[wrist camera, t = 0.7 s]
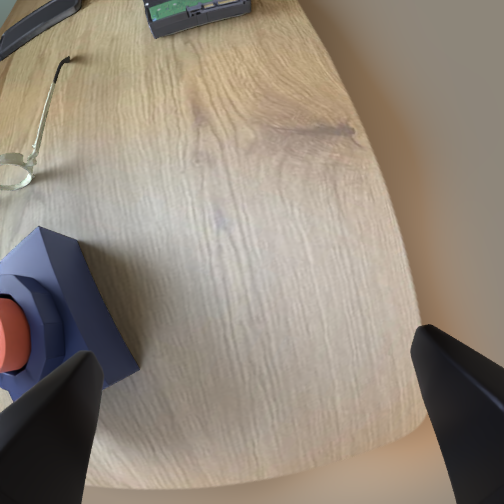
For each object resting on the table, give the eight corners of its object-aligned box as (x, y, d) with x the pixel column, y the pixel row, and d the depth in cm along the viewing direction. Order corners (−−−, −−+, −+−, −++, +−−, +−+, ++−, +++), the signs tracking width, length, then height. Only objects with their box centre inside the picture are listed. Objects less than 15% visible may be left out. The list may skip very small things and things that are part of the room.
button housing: (140, 369, 20) (92, 394, 13) (62, 410, 20) (9, 435, 13) (76, 239, 22) (19, 218, 15) (10, 294, 21) (-46, 289, 14)
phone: (2, 33, 26) (80, -16, 27) (6, 36, 28) (83, -12, 28) (-7, 60, 25) (77, 5, 25) (-3, 64, 26) (80, 10, 27)
